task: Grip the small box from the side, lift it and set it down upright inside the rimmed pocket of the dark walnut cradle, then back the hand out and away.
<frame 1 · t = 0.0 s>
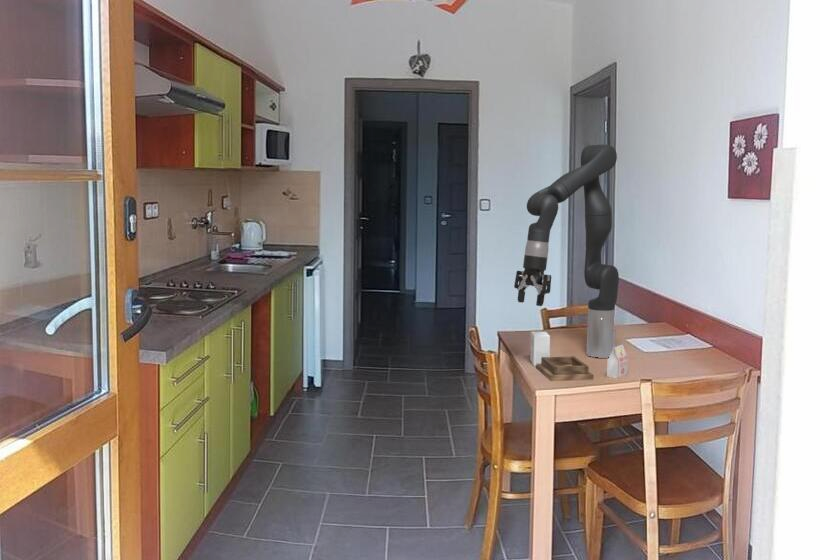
hand: (529, 304, 240), 22 cm above the table, tool pointing down, fingers open, 8 cm apart
milk carton: (616, 377, 235), on the table
walnut cradle: (563, 373, 238), on the table
small box: (539, 364, 252), on the table
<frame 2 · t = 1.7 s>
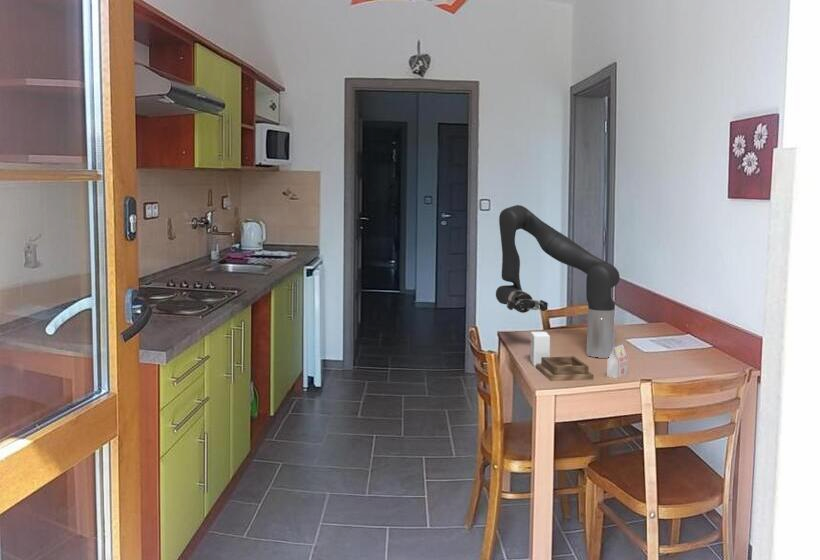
hand: (532, 308, 259), 17 cm above the table, tool horizontal, fingers open, 8 cm apart
nothing on the table moved.
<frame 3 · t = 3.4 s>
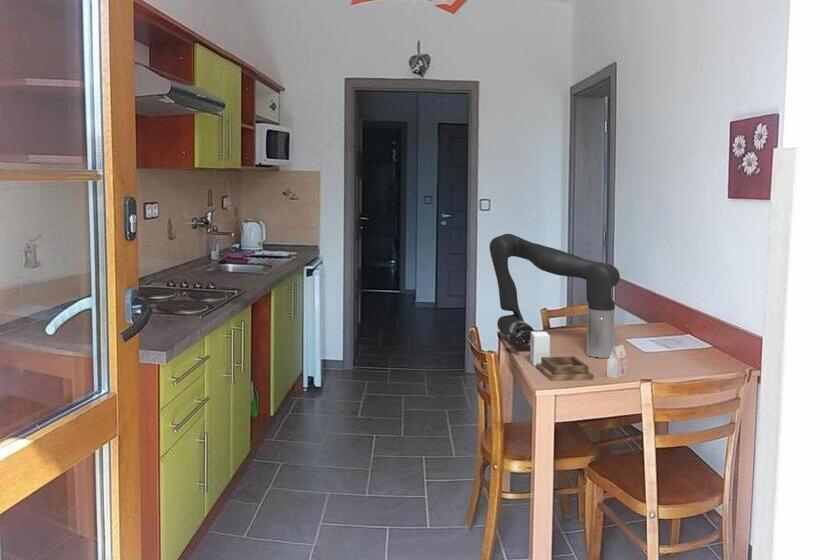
hand: (533, 341, 259), 6 cm above the table, tool horizontal, fingers open, 8 cm apart
nothing on the table moved.
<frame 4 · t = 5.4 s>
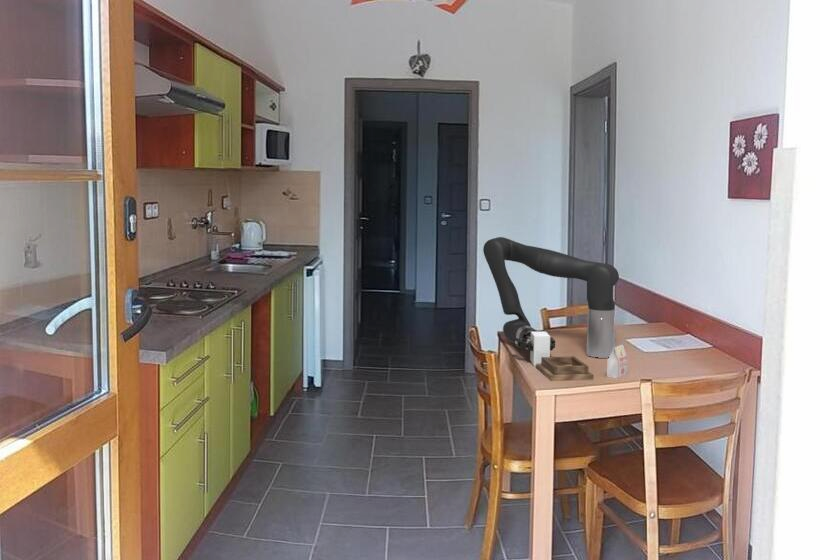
hand: (542, 347, 249), 6 cm above the table, tool horizontal, fingers closed on small box, 6 cm apart
small box: (539, 363, 252), on the table, touching gripper
everything else where it was.
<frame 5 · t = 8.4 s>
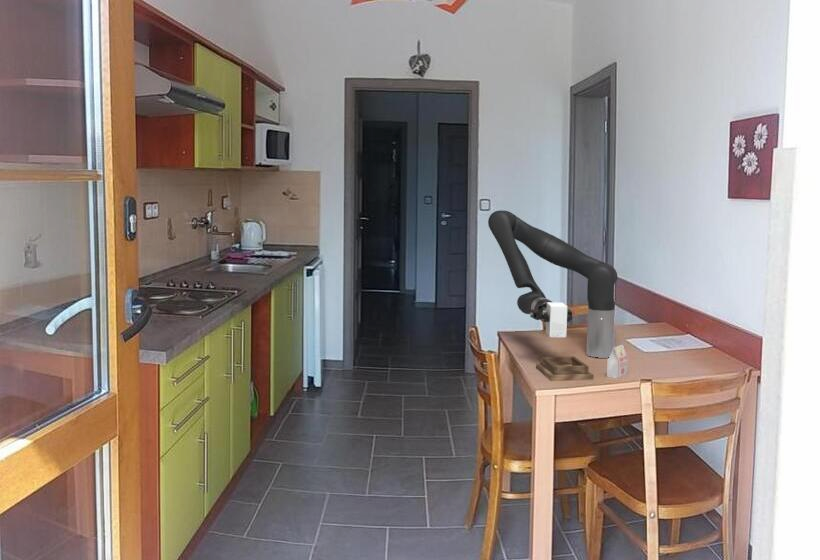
hand: (558, 318, 238), 18 cm above the table, tool horizontal, fingers closed on small box, 6 cm apart
small box: (555, 335, 241), point 12 cm above the table, touching gripper
everything else where it was.
when the fingers open (9 cm above the table, at t = 11.0 s): small box drops 2 cm, resting on walnut cradle.
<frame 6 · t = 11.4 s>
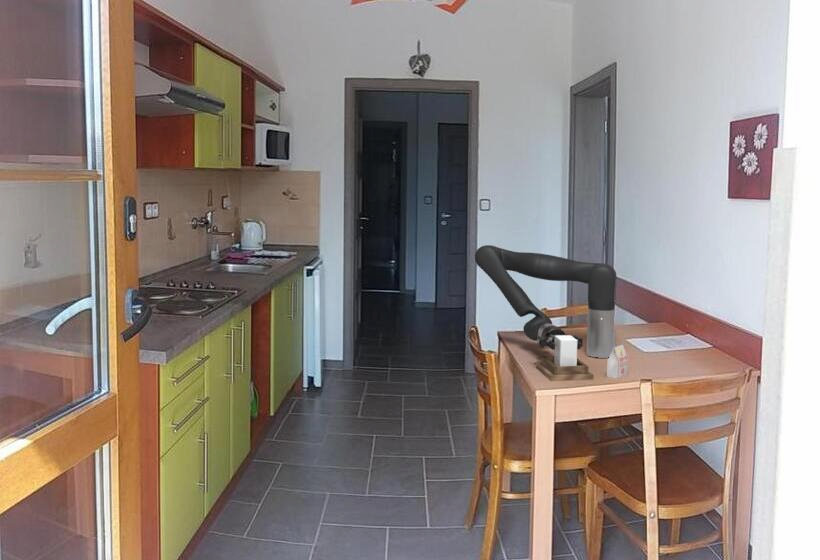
hand: (566, 346, 235), 10 cm above the table, tool horizontal, fingers open, 8 cm apart
small box: (564, 369, 238), point 1 cm above the table, touching walnut cradle
everything else where it was.
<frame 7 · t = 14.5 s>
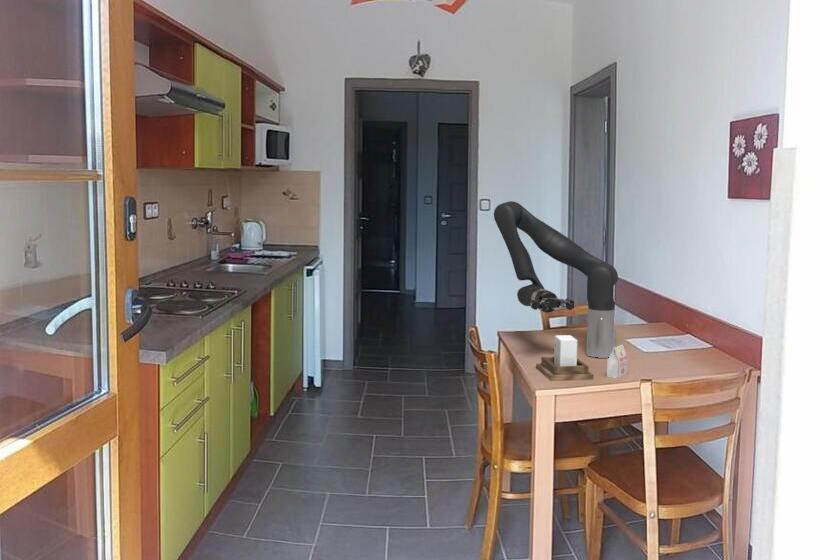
hand: (558, 307, 244), 21 cm above the table, tool horizontal, fingers open, 8 cm apart
nothing on the table moved.
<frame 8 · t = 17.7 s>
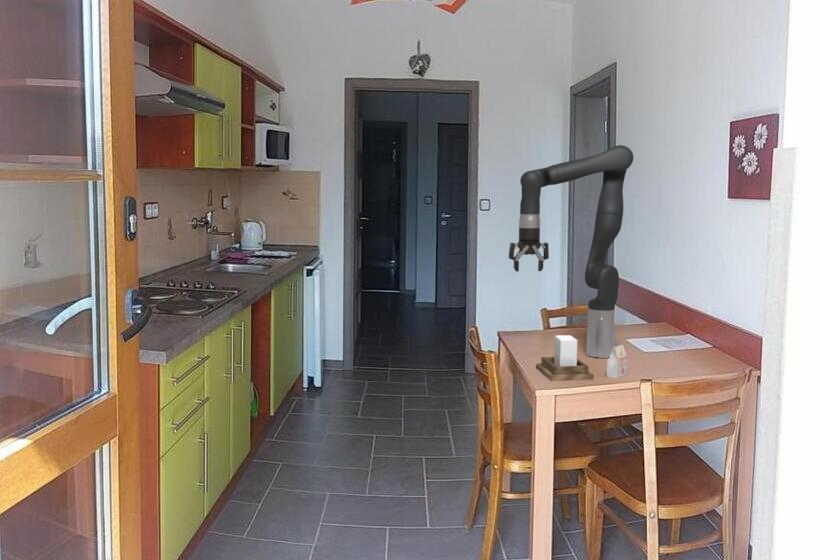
hand: (528, 271, 264), 30 cm above the table, tool pointing down, fingers open, 8 cm apart
nothing on the table moved.
at the end: small box 0.3 cm off-centre on the walnut cradle, point 1.3 cm above the walnut cradle's base; small box tilted 0° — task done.
